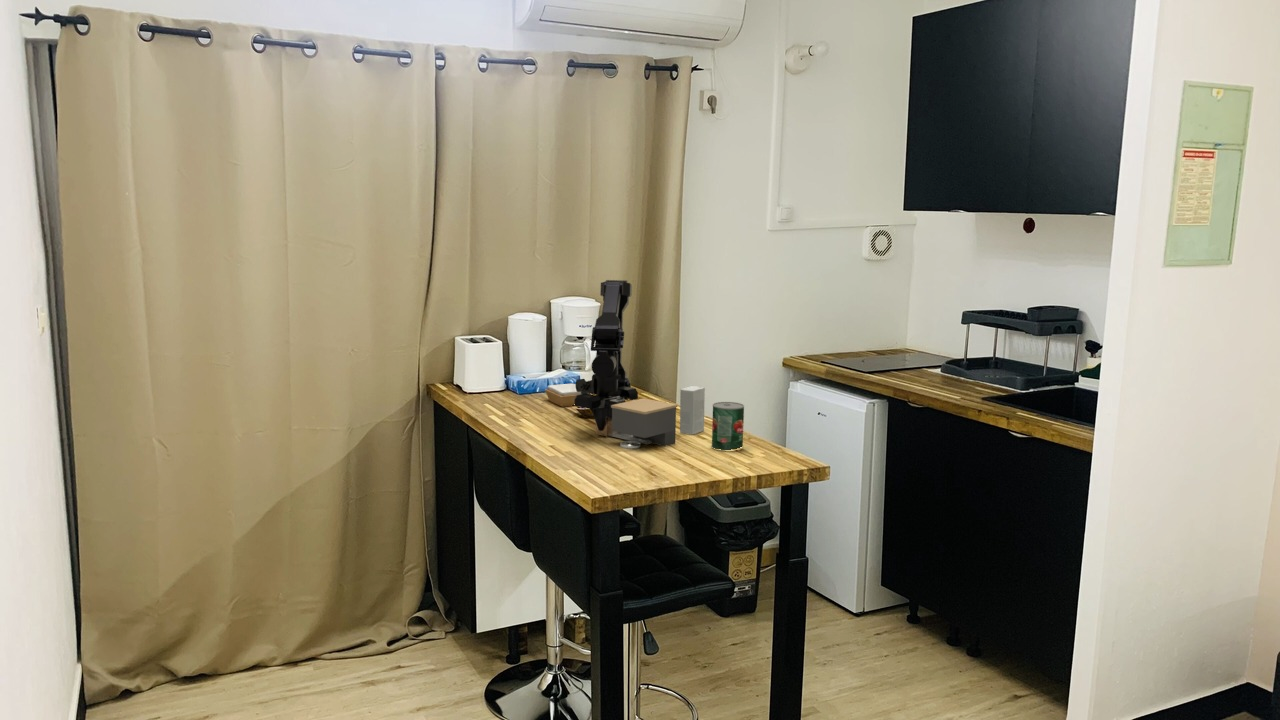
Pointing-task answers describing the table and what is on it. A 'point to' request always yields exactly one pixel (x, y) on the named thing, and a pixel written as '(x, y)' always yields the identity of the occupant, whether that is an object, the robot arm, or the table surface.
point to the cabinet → (646, 420)
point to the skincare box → (692, 410)
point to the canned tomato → (727, 425)
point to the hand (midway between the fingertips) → (606, 429)
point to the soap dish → (562, 394)
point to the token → (630, 445)
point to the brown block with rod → (608, 432)
